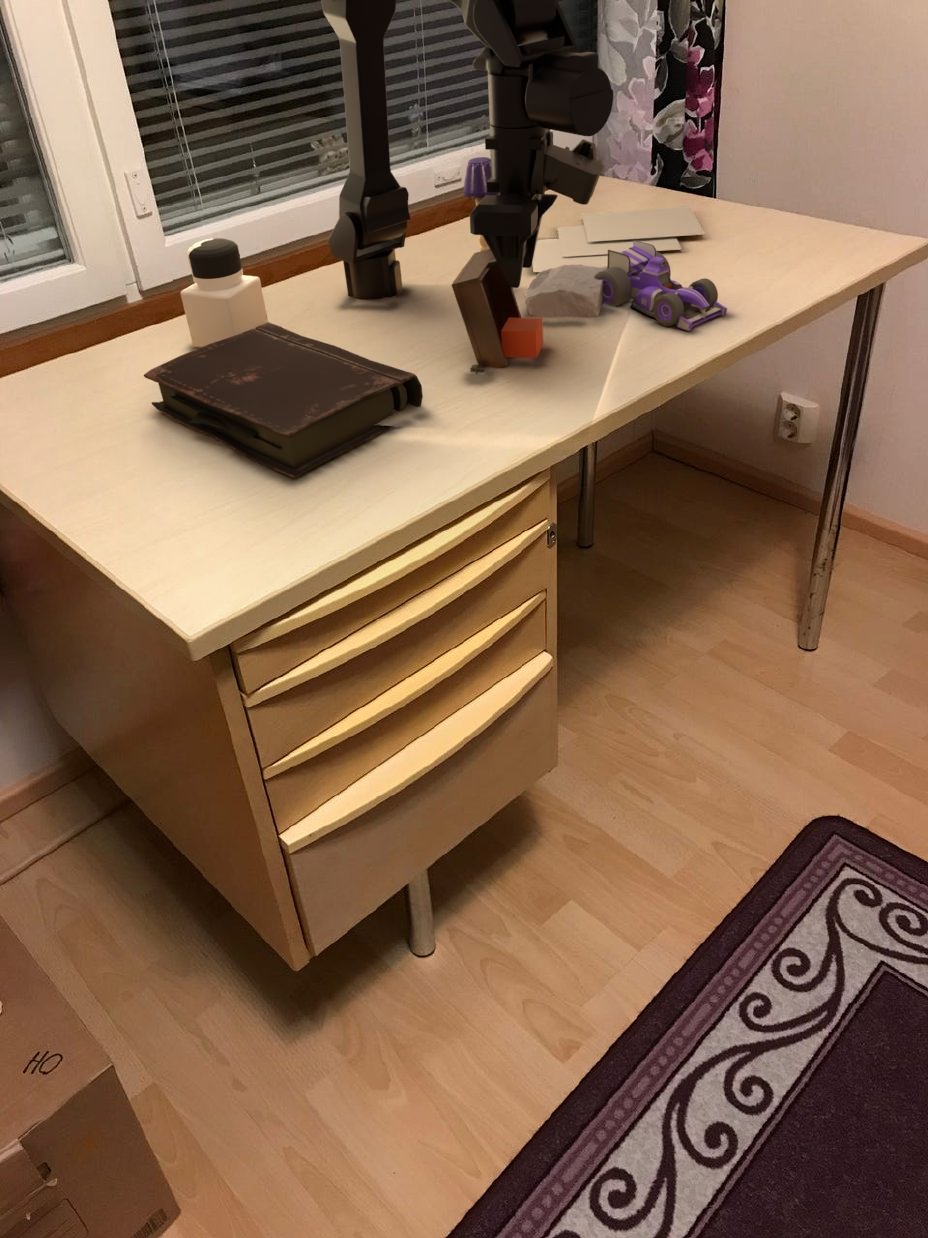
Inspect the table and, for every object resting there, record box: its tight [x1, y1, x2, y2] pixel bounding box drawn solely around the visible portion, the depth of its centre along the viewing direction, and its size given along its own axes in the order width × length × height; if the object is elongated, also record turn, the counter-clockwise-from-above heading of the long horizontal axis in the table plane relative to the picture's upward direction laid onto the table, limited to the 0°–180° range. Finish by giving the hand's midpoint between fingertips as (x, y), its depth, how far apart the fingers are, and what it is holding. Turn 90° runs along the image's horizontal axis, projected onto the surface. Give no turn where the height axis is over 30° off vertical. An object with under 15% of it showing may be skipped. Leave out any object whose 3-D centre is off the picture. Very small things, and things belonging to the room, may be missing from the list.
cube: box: [501, 317, 544, 359], centre depth 115 cm, size 4×4×4 cm
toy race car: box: [594, 240, 728, 332], centre depth 122 cm, size 10×15×6 cm, turn 39°
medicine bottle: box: [180, 237, 269, 348], centre depth 123 cm, size 7×7×12 cm
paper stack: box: [532, 205, 706, 273], centre depth 146 cm, size 23×25×1 cm
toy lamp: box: [462, 156, 499, 252], centre depth 128 cm, size 5×5×17 cm
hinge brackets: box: [469, 364, 487, 375], centre depth 116 cm, size 2×14×1 cm, turn 166°
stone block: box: [524, 264, 608, 318], centre depth 126 cm, size 12×5×10 cm
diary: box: [143, 321, 424, 479], centre depth 107 cm, size 19×25×5 cm
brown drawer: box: [451, 243, 528, 369], centre depth 112 cm, size 11×10×7 cm
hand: (520, 277), depth 110 cm, fingers closed on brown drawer, 6 cm apart
